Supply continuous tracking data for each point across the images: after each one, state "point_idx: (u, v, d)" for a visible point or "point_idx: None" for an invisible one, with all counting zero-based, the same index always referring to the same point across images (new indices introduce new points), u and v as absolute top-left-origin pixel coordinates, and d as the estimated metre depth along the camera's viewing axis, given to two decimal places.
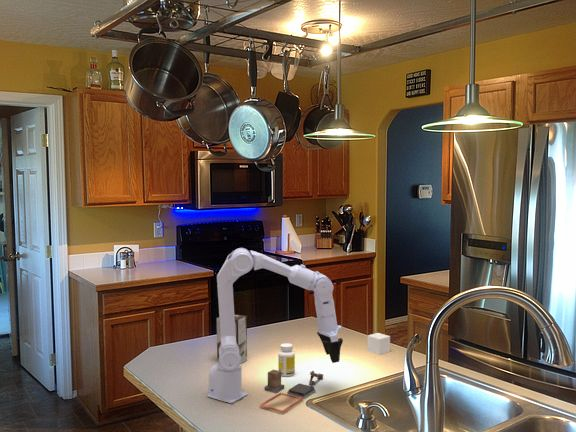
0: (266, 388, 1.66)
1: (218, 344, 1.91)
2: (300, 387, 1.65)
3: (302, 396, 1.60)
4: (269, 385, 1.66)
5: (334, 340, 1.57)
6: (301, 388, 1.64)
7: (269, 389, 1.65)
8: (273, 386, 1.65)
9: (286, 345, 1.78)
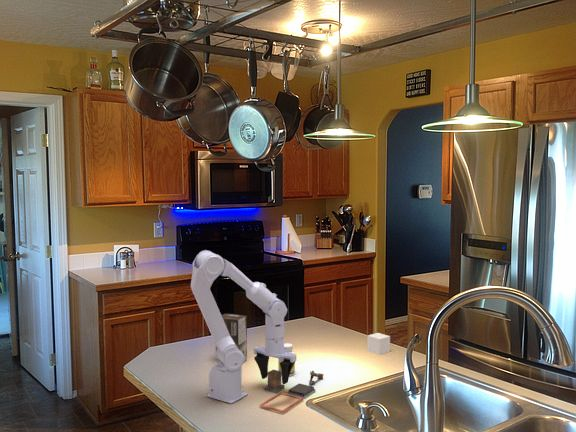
0: (266, 388, 1.66)
1: None
2: (300, 387, 1.65)
3: (302, 396, 1.60)
4: (269, 385, 1.66)
5: (294, 360, 1.62)
6: (301, 388, 1.64)
7: (269, 389, 1.65)
8: (273, 386, 1.65)
9: (286, 345, 1.78)
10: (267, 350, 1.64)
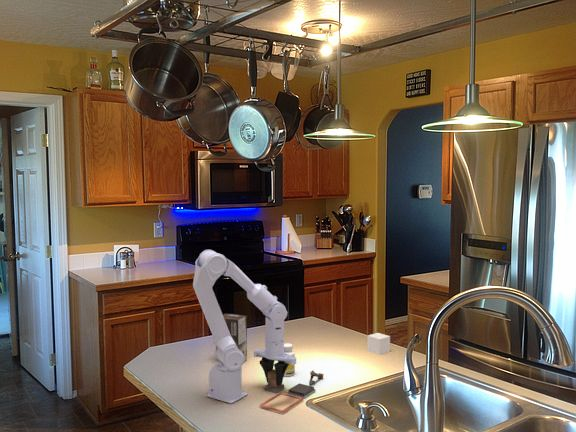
0: (266, 388, 1.66)
1: None
2: (300, 387, 1.65)
3: (302, 396, 1.60)
4: (269, 385, 1.66)
5: (294, 363, 1.62)
6: (301, 388, 1.64)
7: (269, 389, 1.65)
8: (273, 386, 1.65)
9: (286, 345, 1.78)
10: (267, 353, 1.64)
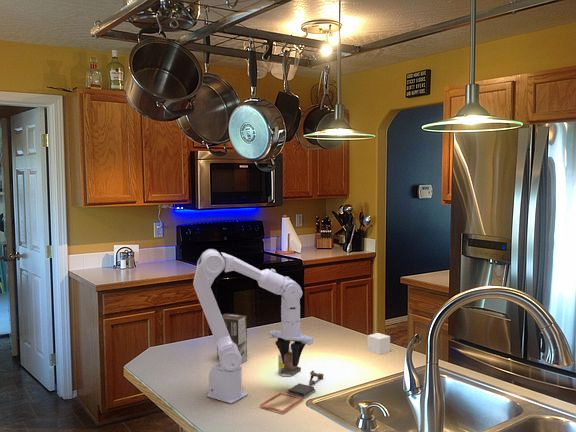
0: (283, 370, 1.64)
1: None
2: (300, 387, 1.65)
3: (302, 396, 1.60)
4: (285, 367, 1.64)
5: (311, 343, 1.60)
6: (301, 388, 1.64)
7: (286, 371, 1.63)
8: (290, 368, 1.63)
9: None
10: (283, 333, 1.62)
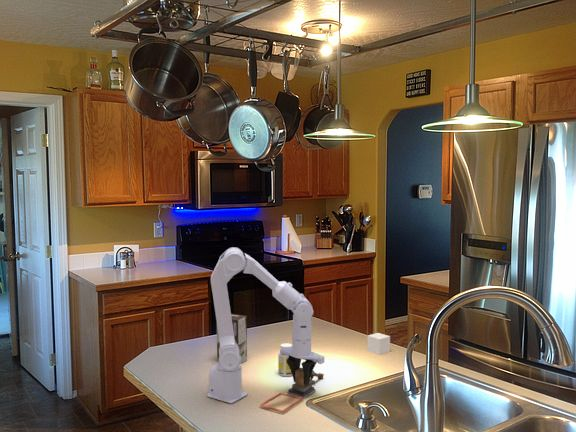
0: (294, 386, 1.63)
1: (218, 344, 1.91)
2: None
3: (302, 396, 1.60)
4: (297, 383, 1.63)
5: (322, 362, 1.59)
6: None
7: (297, 387, 1.62)
8: (301, 384, 1.62)
9: (286, 345, 1.78)
10: (294, 351, 1.61)
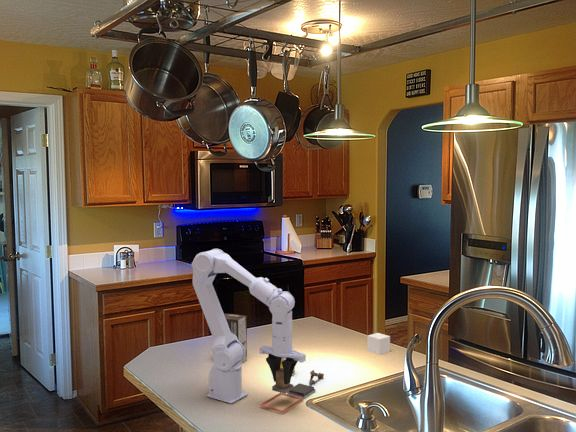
0: (274, 388, 1.55)
1: None
2: (300, 387, 1.65)
3: (302, 396, 1.60)
4: (277, 385, 1.55)
5: (303, 360, 1.51)
6: (301, 388, 1.64)
7: (277, 389, 1.54)
8: (281, 386, 1.54)
9: None
10: (274, 349, 1.53)
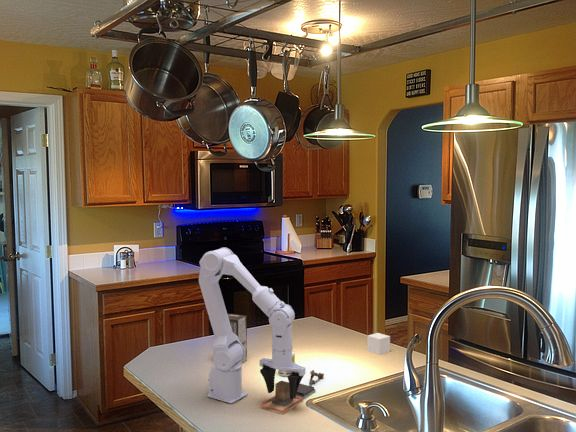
0: (274, 401, 1.55)
1: None
2: (300, 387, 1.65)
3: (302, 396, 1.60)
4: (277, 397, 1.55)
5: (303, 373, 1.51)
6: (301, 388, 1.64)
7: (277, 402, 1.54)
8: (281, 399, 1.54)
9: None
10: (274, 362, 1.53)
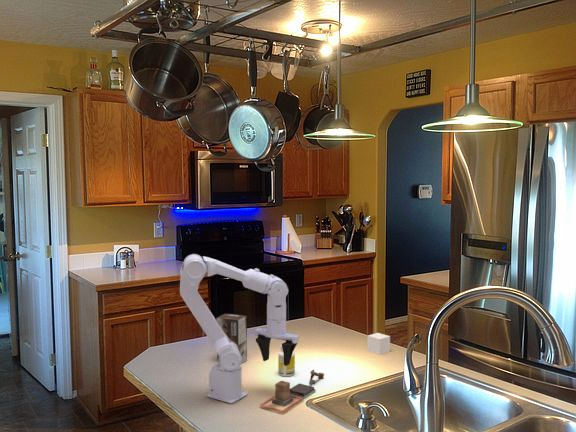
0: (274, 401, 1.55)
1: None
2: (300, 387, 1.65)
3: (302, 396, 1.60)
4: (277, 397, 1.55)
5: (296, 341, 1.59)
6: (301, 388, 1.64)
7: (277, 402, 1.54)
8: (281, 399, 1.54)
9: None
10: (269, 331, 1.61)
